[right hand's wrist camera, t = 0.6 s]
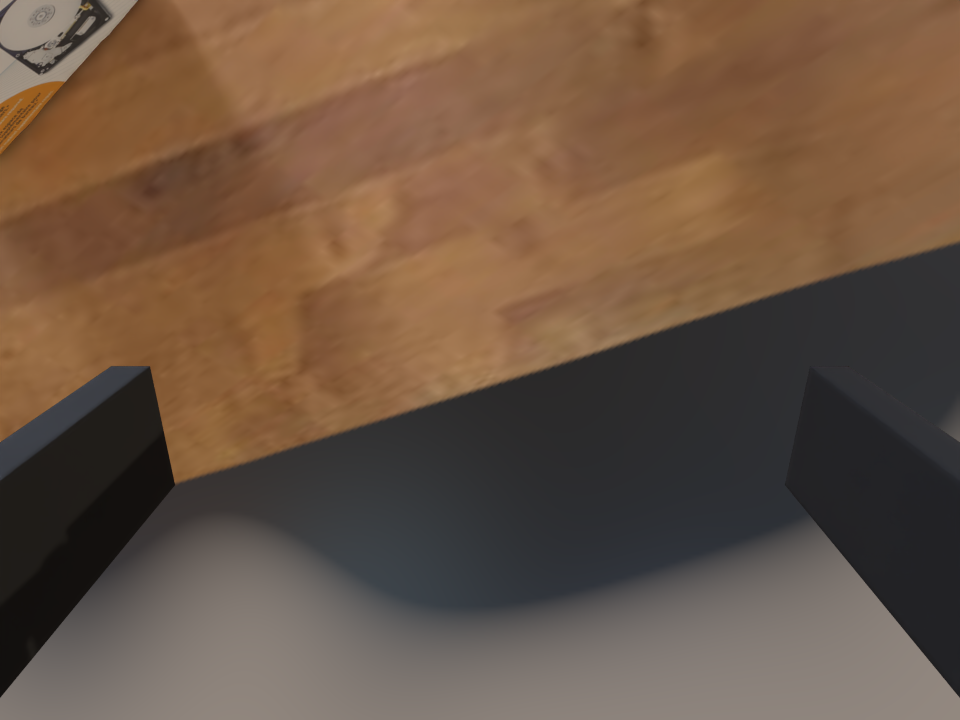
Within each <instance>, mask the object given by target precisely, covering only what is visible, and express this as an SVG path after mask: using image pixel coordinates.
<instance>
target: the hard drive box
mask: <svg viewBox="0 0 960 720" xmlns="http://www.w3.org/2000/svg"><path fill="white" fill-rule="evenodd" d="M137 1H138V0H0V154H1V153H2V152H3V151H4V150H5V149H6V148H7V147H8V146H9V144H10V143H11V142H12V141H13V140H14V139H15V138H16V137H17V136H18V135H19V134H20V133H21V132H22V131H23V130H25V129H26V127H27V126H28V125H29V124H30V123H31V122H32V120H33V119H34V118H35V117H36V116H37V114H38V113H39V112H40V110H41V109H42V108H43V107H44V105H45V104H46V103H47V102H48V101H49V100H50V99H51V97H52V96H53V95H54V94H55V93H56V92H57V91H58V90H59V88H60V87H61V86H62V85H63V84H64V83H65V82H66V81H67V79H68V78H69V77H70V76H71V75H72V74H73V73H74V72H75V71H76V70H77V68H78V67H79V66H80V65H81V64H82V63H83V62H84V61H85V59H86V58H87V57H88V56H89V55H90V54H91V53H92V51H93V50H94V49H95V48H96V47H97V46H98V45H99V44H100V42H101V41H102V40H104V39H105V38H106V37H107V36H108V35H109V34H110V33H111V32H112V30H113V29H114V28H115V27H116V26H117V25H118V24H119V22H120V21H121V20H122V19H123V18H124V17H125V15H126V14H127V13H128V12H129V11H130V9H131V8H132V7H133V5H134V4H135V3H136V2H137Z"/></svg>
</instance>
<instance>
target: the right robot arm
mask: <svg viewBox="0 0 960 720" xmlns="http://www.w3.org/2000/svg"><path fill="white" fill-rule="evenodd" d="M785 485H786V487H787V488H788V489H789V490H790V491H791V493H792V494H793V495H794V496H795V498H796V499H797V500H798V501H799V503H800V504H801V505H802V506H803V507H804V509H805V510H806V511H807V512H808V514H809V515H810V516H811V517H812V518H813V520H814V521H815V522H816V523H817V524H818V526H819V527H820V528H821V529H822V531H823V532H824V533H825V534H826V535H827V537H828V538H829V539H830V540H831V542H832V543H833V544H834V545H835V546H836V548H837V549H838V550H839V551H840V552H841V554H842V555H843V556H844V557H845V559H846V560H847V561H848V562H849V563H850V565H851V566H852V567H853V568H854V569H855V571H856V572H857V573H858V574H859V576H860V577H861V578H862V579H863V580H864V582H865V583H866V584H867V585H868V587H869V588H870V589H871V590H872V591H873V593H874V594H875V595H876V596H877V597H878V599H879V600H880V601H881V602H882V604H883V605H884V606H885V607H886V608H887V610H888V611H889V612H890V613H891V615H892V616H893V617H894V618H895V619H896V621H897V622H898V623H899V624H900V625H901V627H902V628H903V629H904V630H905V632H906V633H907V634H908V635H909V636H910V638H911V639H912V640H913V641H914V642H915V644H916V645H917V646H918V647H919V649H920V650H921V651H922V652H923V653H924V655H925V656H926V657H927V658H928V660H929V661H930V662H931V663H932V664H933V666H934V667H935V668H936V669H937V670H938V672H939V673H940V674H941V675H942V677H943V678H944V679H945V680H946V681H947V683H948V684H949V685H950V686H951V688H952V689H953V690H954V691H955V692H956V694H957V695H958V696H959V697H960V442H958V441H957V440H955V439H954V438H953V437H951V436H950V435H948V434H947V433H945V432H944V431H942V430H941V429H939V428H938V427H936V426H935V425H934V424H932V423H931V422H929V421H928V420H926V419H925V418H923V417H922V416H920V415H919V414H918V413H916V412H915V411H913V410H912V409H910V408H909V407H907V406H906V405H904V404H903V403H901V402H900V401H899V400H897V399H896V398H894V397H893V396H891V395H890V394H888V393H887V392H885V391H884V390H882V389H881V388H880V387H878V386H877V385H875V384H874V383H872V382H871V381H869V380H868V379H866V378H865V377H863V376H862V375H861V374H859V373H858V372H856V371H855V370H853V369H852V368H850V367H849V366H810V369H809V374H808V379H807V383H806V388H805V393H804V398H803V402H802V407H801V412H800V417H799V421H798V426H797V431H796V436H795V440H794V445H793V450H792V454H791V459H790V464H789V469H788V473H787V478H786V483H785ZM174 486H175V483H174V478H173V473H172V469H171V464H170V459H169V454H168V450H167V445H166V440H165V436H164V431H163V426H162V421H161V417H160V412H159V407H158V402H157V398H156V393H155V388H154V383H153V379H152V374H151V369H150V366H111V367H110V368H108V369H107V370H105V371H104V372H102V373H101V374H99V375H98V376H97V377H95V378H94V379H92V380H91V381H89V382H88V383H86V384H85V385H83V386H82V387H80V388H79V389H78V390H76V391H75V392H73V393H72V394H70V395H69V396H67V397H66V398H64V399H63V400H61V401H60V402H59V403H57V404H56V405H54V406H53V407H51V408H50V409H48V410H47V411H45V412H44V413H42V414H41V415H40V416H38V417H37V418H35V419H34V420H32V421H31V422H29V423H28V424H26V425H25V426H24V427H22V428H21V429H19V430H18V431H16V432H15V433H13V434H12V435H10V436H9V437H7V438H6V439H5V440H3V441H2V442H0V697H1V696H2V695H3V694H4V692H5V691H6V690H7V689H8V687H9V686H10V685H11V684H12V683H13V681H14V680H15V679H16V678H17V676H18V675H19V674H20V673H21V672H22V670H23V669H24V668H25V667H26V666H27V664H28V663H29V662H30V661H31V660H32V658H33V657H34V656H35V655H36V653H37V652H38V651H39V650H40V649H41V647H42V646H43V645H44V644H45V642H46V641H47V640H48V639H49V638H50V636H51V635H52V634H53V633H54V631H55V630H56V629H57V628H58V627H59V625H60V624H61V623H62V622H63V621H64V619H65V618H66V617H67V616H68V615H69V613H70V612H71V611H72V610H73V608H74V607H75V606H76V605H77V604H78V602H79V601H80V600H81V599H82V597H83V596H84V595H85V594H86V593H87V591H88V590H89V589H90V588H91V586H92V585H93V584H94V583H95V582H96V580H97V579H98V578H99V577H100V576H101V574H102V573H103V572H104V571H105V569H106V568H107V567H108V566H109V565H110V563H111V562H112V561H113V560H114V559H115V557H116V556H117V555H118V554H119V552H120V551H121V550H122V549H123V548H124V546H125V545H126V544H127V543H128V542H129V540H130V539H131V538H132V537H133V535H134V534H135V533H136V532H137V530H138V529H139V528H140V527H141V526H142V524H143V523H144V522H145V521H146V520H147V518H148V517H149V516H150V515H151V514H152V512H153V511H154V510H155V509H156V507H157V506H158V505H159V504H160V503H161V501H162V500H163V499H164V498H165V496H166V495H167V494H168V493H169V492H170V490H171V489H172V488H173V487H174Z"/></svg>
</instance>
